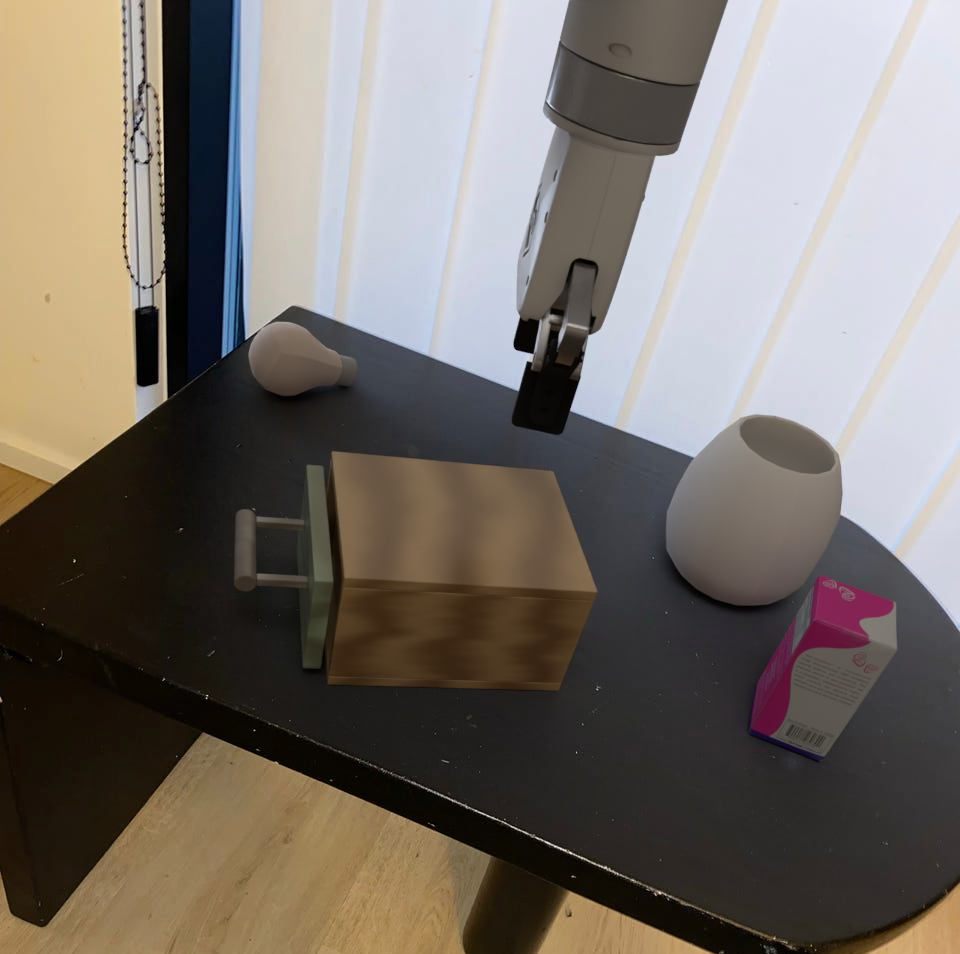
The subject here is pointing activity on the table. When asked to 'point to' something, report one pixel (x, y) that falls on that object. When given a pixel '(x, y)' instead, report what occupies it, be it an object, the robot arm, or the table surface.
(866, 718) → the table surface
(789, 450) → the cup
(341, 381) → the light bulb
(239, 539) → the drawer
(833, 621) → the supplement box
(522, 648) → the cabinet
